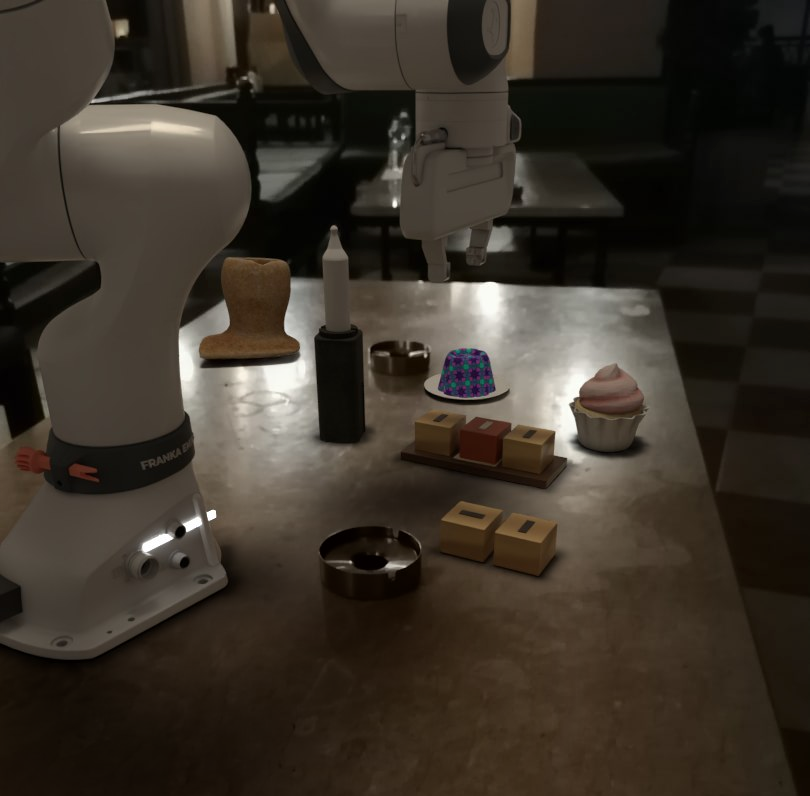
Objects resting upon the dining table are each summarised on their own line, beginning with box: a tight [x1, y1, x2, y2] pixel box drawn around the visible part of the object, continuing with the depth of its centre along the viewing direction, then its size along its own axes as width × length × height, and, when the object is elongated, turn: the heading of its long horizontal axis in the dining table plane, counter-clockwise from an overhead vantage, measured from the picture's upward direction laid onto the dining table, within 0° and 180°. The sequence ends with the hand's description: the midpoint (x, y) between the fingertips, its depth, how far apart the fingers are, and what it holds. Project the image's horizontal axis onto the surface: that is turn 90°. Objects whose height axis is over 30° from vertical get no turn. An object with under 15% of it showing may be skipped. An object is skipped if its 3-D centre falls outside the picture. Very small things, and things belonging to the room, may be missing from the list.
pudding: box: [423, 347, 511, 401], centre depth 126 cm, size 12×12×5 cm
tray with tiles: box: [400, 409, 568, 490], centre depth 104 cm, size 7×18×5 cm, turn 62°
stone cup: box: [198, 256, 301, 360], centre depth 139 cm, size 15×12×15 cm
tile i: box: [439, 500, 504, 563], centre depth 87 cm, size 4×4×4 cm
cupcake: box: [568, 362, 650, 453], centre depth 108 cm, size 9×9×10 cm
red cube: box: [459, 416, 512, 465], centre depth 104 cm, size 4×4×4 cm
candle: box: [313, 225, 366, 444], centre depth 107 cm, size 5×5×25 cm
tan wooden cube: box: [493, 512, 559, 577], centre depth 84 cm, size 4×4×4 cm
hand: (458, 272), depth 94 cm, fingers open, 8 cm apart
